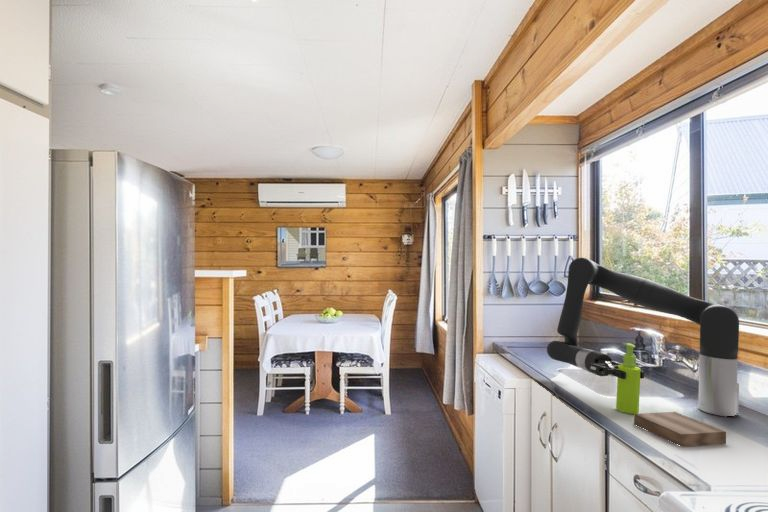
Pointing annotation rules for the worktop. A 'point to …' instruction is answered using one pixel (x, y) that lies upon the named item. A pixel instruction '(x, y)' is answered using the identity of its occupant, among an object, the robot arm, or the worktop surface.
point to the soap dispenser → (628, 383)
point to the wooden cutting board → (680, 429)
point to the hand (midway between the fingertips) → (634, 375)
